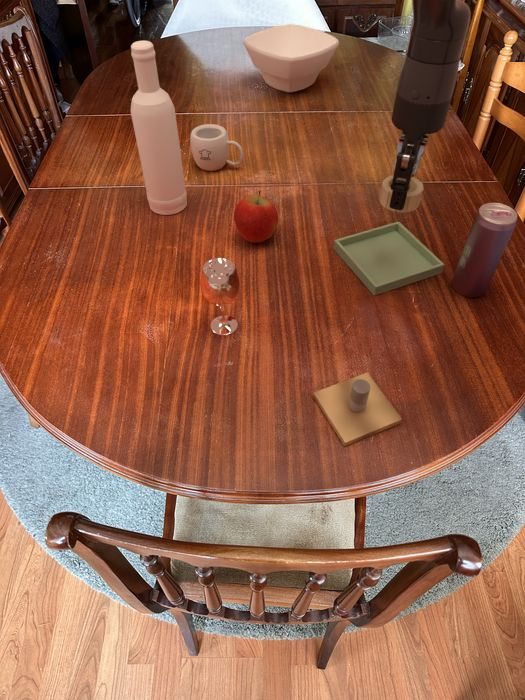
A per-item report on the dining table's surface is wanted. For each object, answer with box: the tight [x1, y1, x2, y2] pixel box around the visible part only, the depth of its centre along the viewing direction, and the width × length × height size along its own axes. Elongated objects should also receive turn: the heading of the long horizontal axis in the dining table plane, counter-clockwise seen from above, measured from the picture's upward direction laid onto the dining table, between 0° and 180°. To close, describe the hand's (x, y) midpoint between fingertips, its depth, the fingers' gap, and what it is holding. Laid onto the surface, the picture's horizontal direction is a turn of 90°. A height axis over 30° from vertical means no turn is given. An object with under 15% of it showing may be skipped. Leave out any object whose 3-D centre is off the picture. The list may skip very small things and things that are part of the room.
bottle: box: [130, 40, 188, 216], centre depth 94 cm, size 8×8×30 cm
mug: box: [189, 123, 244, 172], centre depth 112 cm, size 12×8×8 cm
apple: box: [233, 190, 279, 244], centre depth 94 cm, size 8×8×10 cm
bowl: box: [242, 23, 340, 93], centre depth 139 cm, size 22×22×12 cm
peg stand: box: [312, 372, 403, 447], centre depth 69 cm, size 9×9×6 cm
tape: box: [379, 174, 425, 214], centre depth 82 cm, size 6×6×3 cm
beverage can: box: [451, 202, 518, 298], centre depth 82 cm, size 6×6×15 cm
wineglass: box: [200, 257, 241, 336], centre depth 78 cm, size 6×6×12 cm
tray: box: [333, 221, 445, 296], centre depth 92 cm, size 14×14×2 cm
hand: (400, 196), depth 83 cm, fingers closed on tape, 6 cm apart
